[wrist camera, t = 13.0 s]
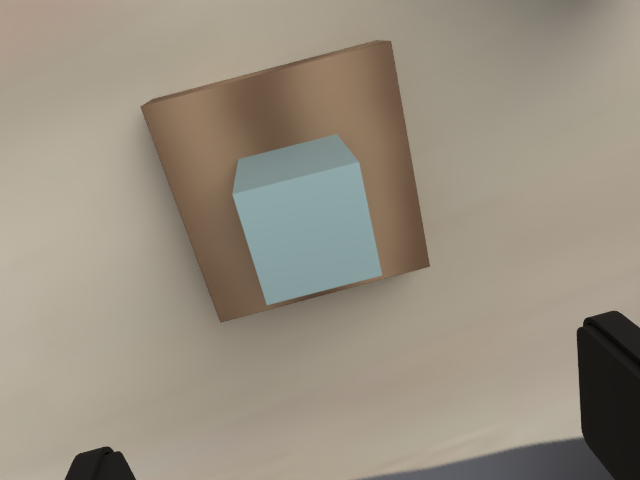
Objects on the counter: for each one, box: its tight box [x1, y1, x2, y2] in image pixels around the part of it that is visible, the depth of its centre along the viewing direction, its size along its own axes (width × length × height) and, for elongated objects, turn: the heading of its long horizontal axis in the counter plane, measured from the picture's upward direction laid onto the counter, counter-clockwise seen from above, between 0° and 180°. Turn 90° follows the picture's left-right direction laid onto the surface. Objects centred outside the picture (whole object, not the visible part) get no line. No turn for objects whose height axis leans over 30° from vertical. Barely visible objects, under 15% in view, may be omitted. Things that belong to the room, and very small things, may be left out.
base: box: [141, 40, 430, 322], centre depth 28 cm, size 12×12×3 cm
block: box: [232, 134, 382, 305], centre depth 23 cm, size 5×5×6 cm
